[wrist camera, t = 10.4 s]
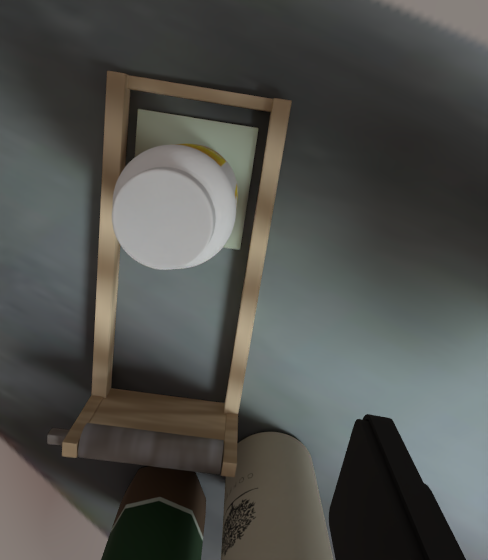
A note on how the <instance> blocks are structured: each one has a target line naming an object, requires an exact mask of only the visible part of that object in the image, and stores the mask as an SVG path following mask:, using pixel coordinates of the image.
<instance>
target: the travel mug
mask: <svg viewBox="0 0 488 560" xmlns="http://www.w3.org/2000/svg"><path fill="white" fill-rule="evenodd" d="M221 560H333V556H332V551H331V546H330V542H329V537H328V532H327V528H326V523H325V519H324V514H323V509H322V505H321V500H320V495H319V491H318V486H317V481H316V477H315V472H314V468H313V463H312V459H311V456H310V453H309V452H308V450H307V449H306V447H305V446H304V445H303V444H302V443H301V442H300V441H298V440H297V439H295V438H294V437H292V436H289V435H287V434H283V433H279V432H262V433H257V434H254V435H251V436H249V437H247V438H245V439H243V440H242V441H240V442H239V443H238V444H237V466H236V472H235V477H228V476H226V481H225V499H224V517H223V535H222V552H221Z"/></svg>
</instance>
